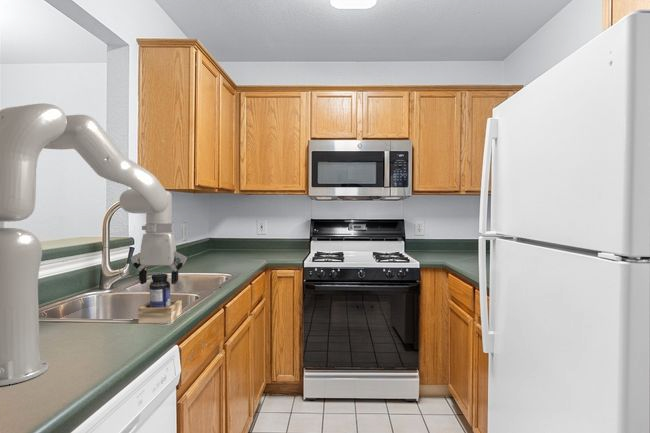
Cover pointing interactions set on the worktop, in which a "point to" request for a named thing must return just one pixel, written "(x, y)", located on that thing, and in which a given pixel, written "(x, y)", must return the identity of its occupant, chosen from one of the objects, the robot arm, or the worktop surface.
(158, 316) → the wooden tray
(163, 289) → the pill bottle
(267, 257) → the worktop surface
